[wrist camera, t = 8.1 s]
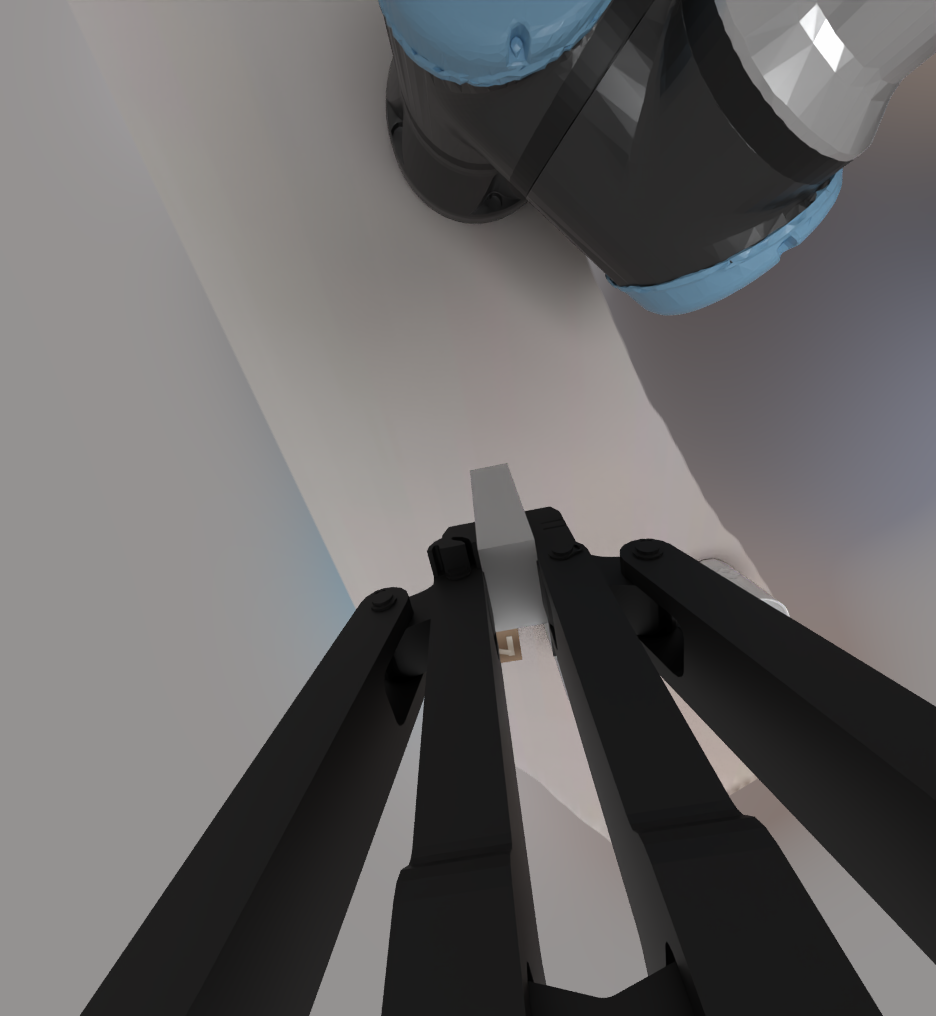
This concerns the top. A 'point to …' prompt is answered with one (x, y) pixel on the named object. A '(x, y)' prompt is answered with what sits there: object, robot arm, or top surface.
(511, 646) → the walnut block seven
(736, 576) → the white cup
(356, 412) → the top surface
